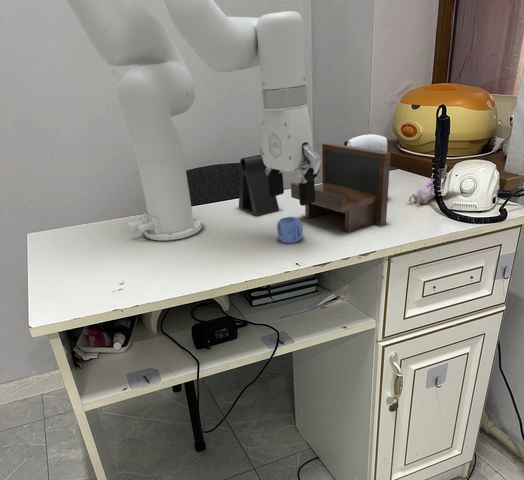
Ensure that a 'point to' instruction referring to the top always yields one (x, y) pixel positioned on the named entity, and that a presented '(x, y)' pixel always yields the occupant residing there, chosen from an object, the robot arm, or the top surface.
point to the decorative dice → (290, 229)
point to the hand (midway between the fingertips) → (291, 199)
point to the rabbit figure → (425, 193)
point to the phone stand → (255, 187)
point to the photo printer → (369, 142)
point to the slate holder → (351, 185)
